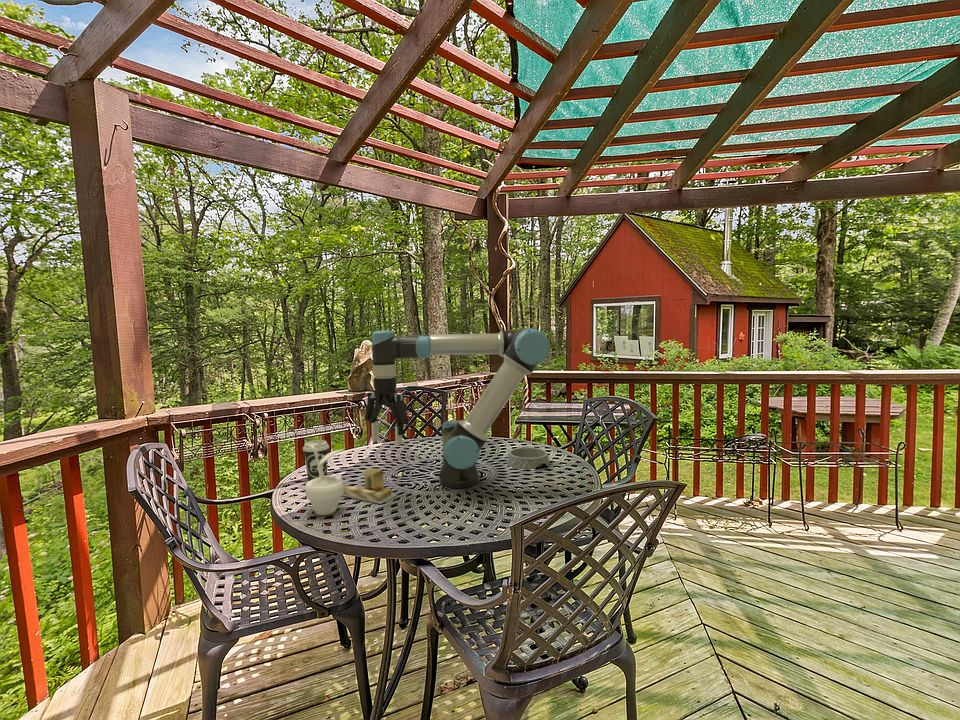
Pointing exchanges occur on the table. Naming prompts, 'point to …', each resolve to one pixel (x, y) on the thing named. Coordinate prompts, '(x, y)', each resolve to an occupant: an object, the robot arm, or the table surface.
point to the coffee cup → (311, 459)
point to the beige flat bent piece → (366, 493)
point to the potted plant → (324, 487)
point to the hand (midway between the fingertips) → (387, 442)
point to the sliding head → (373, 479)
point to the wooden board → (372, 500)
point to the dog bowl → (527, 458)
